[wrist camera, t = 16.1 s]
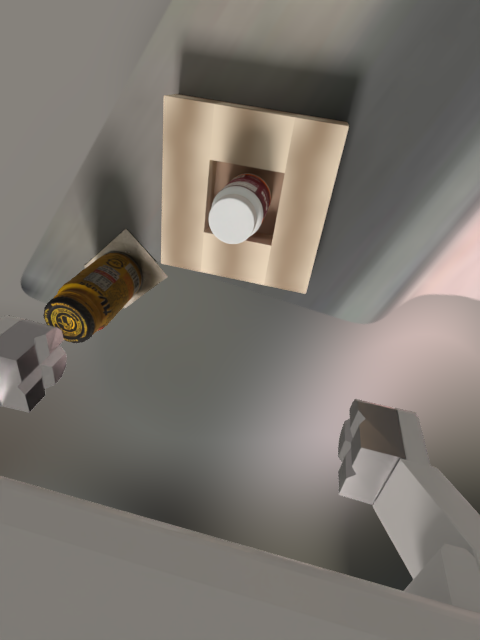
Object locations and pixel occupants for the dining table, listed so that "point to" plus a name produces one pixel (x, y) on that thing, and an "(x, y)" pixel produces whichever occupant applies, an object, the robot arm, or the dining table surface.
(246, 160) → the well block
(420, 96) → the dining table surface
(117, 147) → the dining table surface
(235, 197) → the pill bottle
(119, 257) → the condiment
